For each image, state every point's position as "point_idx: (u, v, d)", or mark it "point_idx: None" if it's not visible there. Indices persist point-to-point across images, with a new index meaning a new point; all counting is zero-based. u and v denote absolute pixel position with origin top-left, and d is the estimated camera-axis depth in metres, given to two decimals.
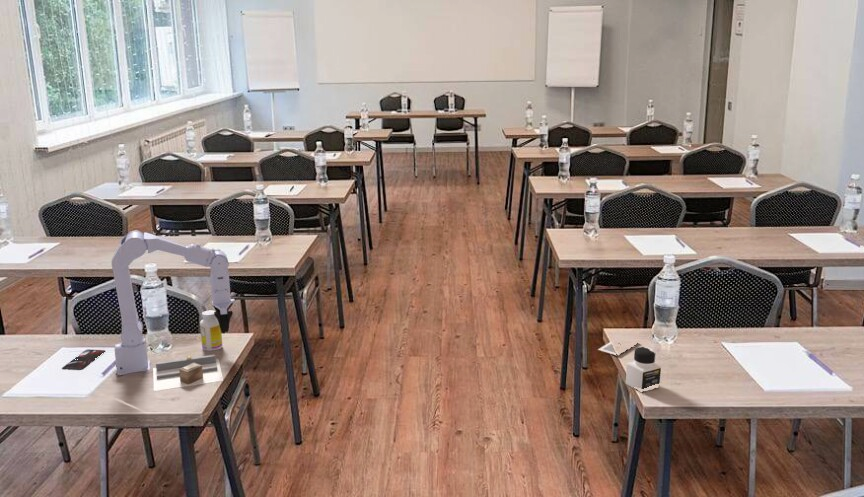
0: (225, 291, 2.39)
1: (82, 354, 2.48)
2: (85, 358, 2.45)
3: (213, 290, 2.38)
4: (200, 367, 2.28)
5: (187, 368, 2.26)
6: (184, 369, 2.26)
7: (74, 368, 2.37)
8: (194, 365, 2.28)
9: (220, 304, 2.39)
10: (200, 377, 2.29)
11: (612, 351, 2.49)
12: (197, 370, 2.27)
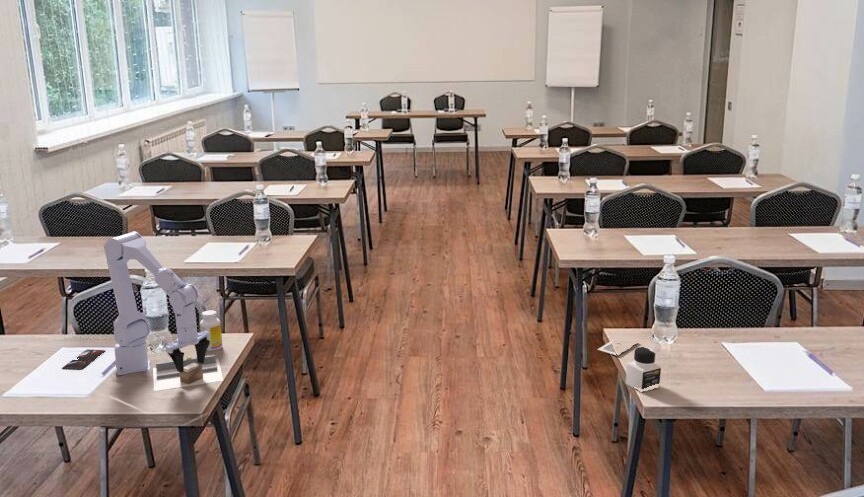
0: (182, 330, 2.21)
1: (82, 354, 2.48)
2: (85, 358, 2.45)
3: None
4: (200, 367, 2.28)
5: (187, 368, 2.26)
6: (184, 369, 2.26)
7: (74, 368, 2.37)
8: (194, 365, 2.28)
9: (178, 342, 2.23)
10: (200, 377, 2.29)
11: (612, 351, 2.49)
12: (197, 370, 2.27)
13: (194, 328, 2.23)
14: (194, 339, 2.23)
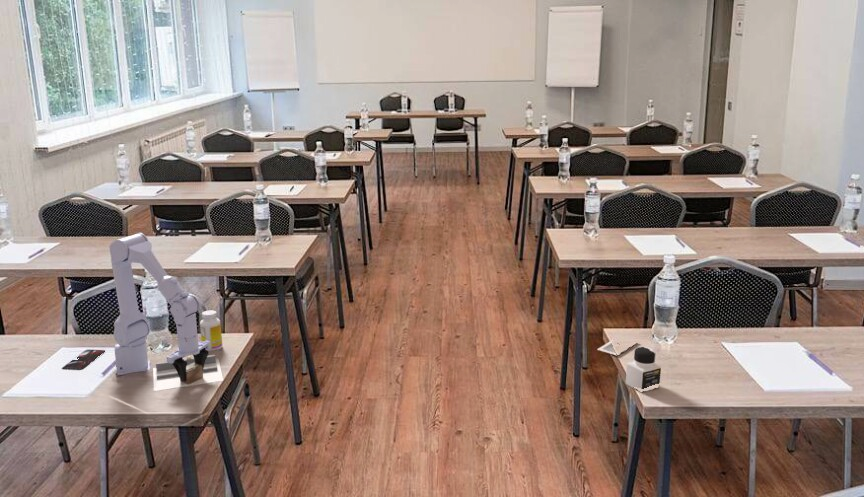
0: (183, 340, 2.22)
1: (82, 354, 2.48)
2: (85, 358, 2.45)
3: None
4: (200, 367, 2.28)
5: (187, 368, 2.26)
6: None
7: (74, 368, 2.37)
8: (194, 365, 2.28)
9: (179, 351, 2.24)
10: (200, 377, 2.29)
11: (611, 351, 2.49)
12: (197, 370, 2.27)
13: (195, 338, 2.24)
14: (195, 349, 2.24)
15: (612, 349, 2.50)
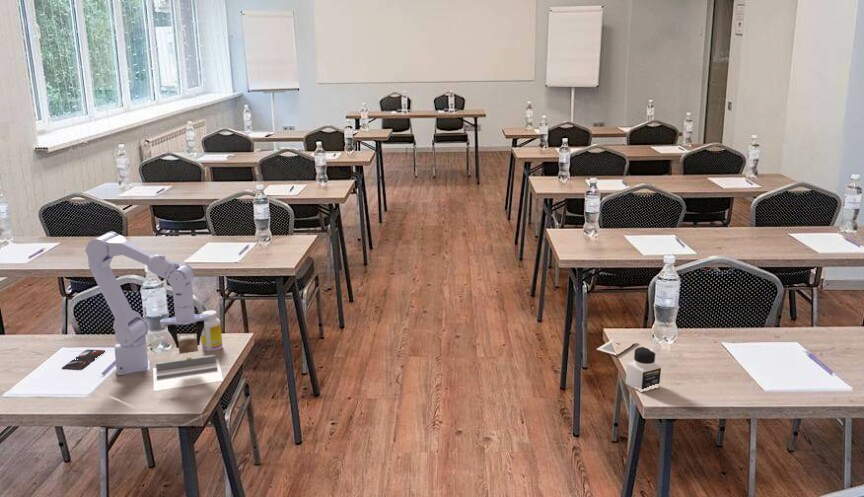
0: (175, 308, 2.27)
1: (82, 354, 2.48)
2: (85, 358, 2.45)
3: None
4: (194, 340, 2.31)
5: (182, 338, 2.31)
6: (179, 338, 2.31)
7: (74, 368, 2.37)
8: (191, 337, 2.32)
9: (175, 318, 2.30)
10: (194, 350, 2.32)
11: (611, 351, 2.49)
12: (191, 342, 2.31)
13: (186, 309, 2.27)
14: (186, 319, 2.28)
15: (611, 349, 2.50)
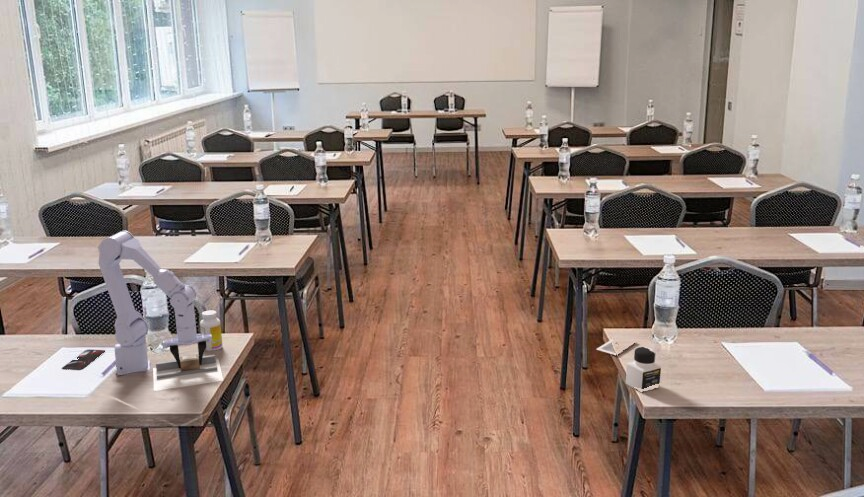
0: (177, 329, 2.29)
1: (82, 354, 2.48)
2: (85, 358, 2.45)
3: None
4: (196, 360, 2.33)
5: (184, 358, 2.33)
6: (181, 358, 2.33)
7: (74, 368, 2.37)
8: (193, 357, 2.34)
9: (177, 339, 2.32)
10: None
11: (610, 351, 2.49)
12: (193, 362, 2.33)
13: (189, 329, 2.29)
14: (188, 340, 2.30)
15: (611, 349, 2.50)
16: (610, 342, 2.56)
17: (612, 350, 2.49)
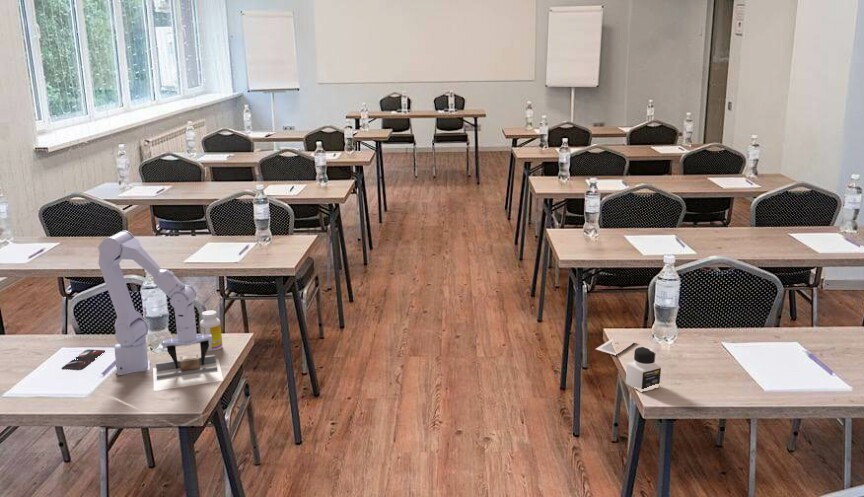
0: (177, 329, 2.29)
1: (82, 354, 2.48)
2: (85, 358, 2.45)
3: None
4: (196, 360, 2.33)
5: (184, 358, 2.33)
6: (181, 358, 2.33)
7: (74, 368, 2.37)
8: (193, 357, 2.34)
9: (177, 339, 2.32)
10: None
11: (610, 350, 2.49)
12: (193, 362, 2.33)
13: (189, 330, 2.29)
14: (188, 340, 2.30)
15: (610, 349, 2.50)
16: (610, 342, 2.56)
17: (612, 350, 2.49)
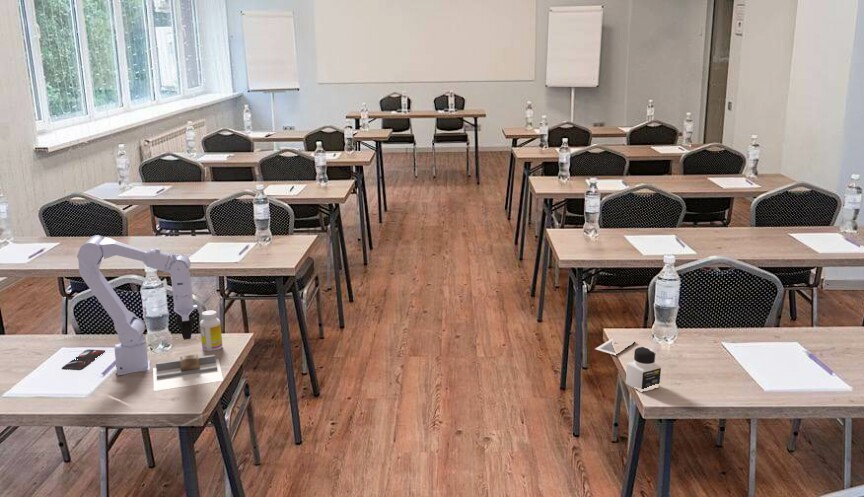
0: (187, 297, 2.32)
1: (82, 354, 2.48)
2: (85, 358, 2.45)
3: (175, 296, 2.32)
4: (196, 360, 2.33)
5: (184, 358, 2.33)
6: (181, 358, 2.33)
7: (73, 368, 2.37)
8: (193, 357, 2.34)
9: (182, 310, 2.32)
10: None
11: (609, 350, 2.49)
12: (193, 362, 2.33)
13: None
14: None
15: (610, 349, 2.50)
16: (609, 342, 2.56)
17: (611, 350, 2.49)
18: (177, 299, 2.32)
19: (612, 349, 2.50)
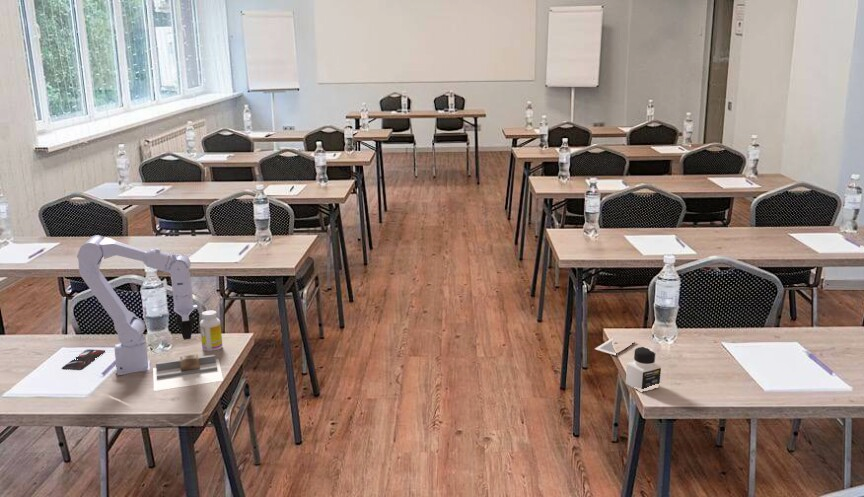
0: (187, 297, 2.32)
1: (82, 354, 2.48)
2: (85, 358, 2.45)
3: (175, 296, 2.32)
4: (196, 360, 2.33)
5: (184, 358, 2.33)
6: (181, 358, 2.33)
7: (73, 368, 2.37)
8: (193, 357, 2.34)
9: (182, 310, 2.32)
10: None
11: (609, 350, 2.49)
12: (193, 362, 2.33)
13: None
14: None
15: (610, 348, 2.50)
16: (609, 342, 2.56)
17: (611, 350, 2.50)
18: (177, 299, 2.32)
19: (612, 349, 2.50)
